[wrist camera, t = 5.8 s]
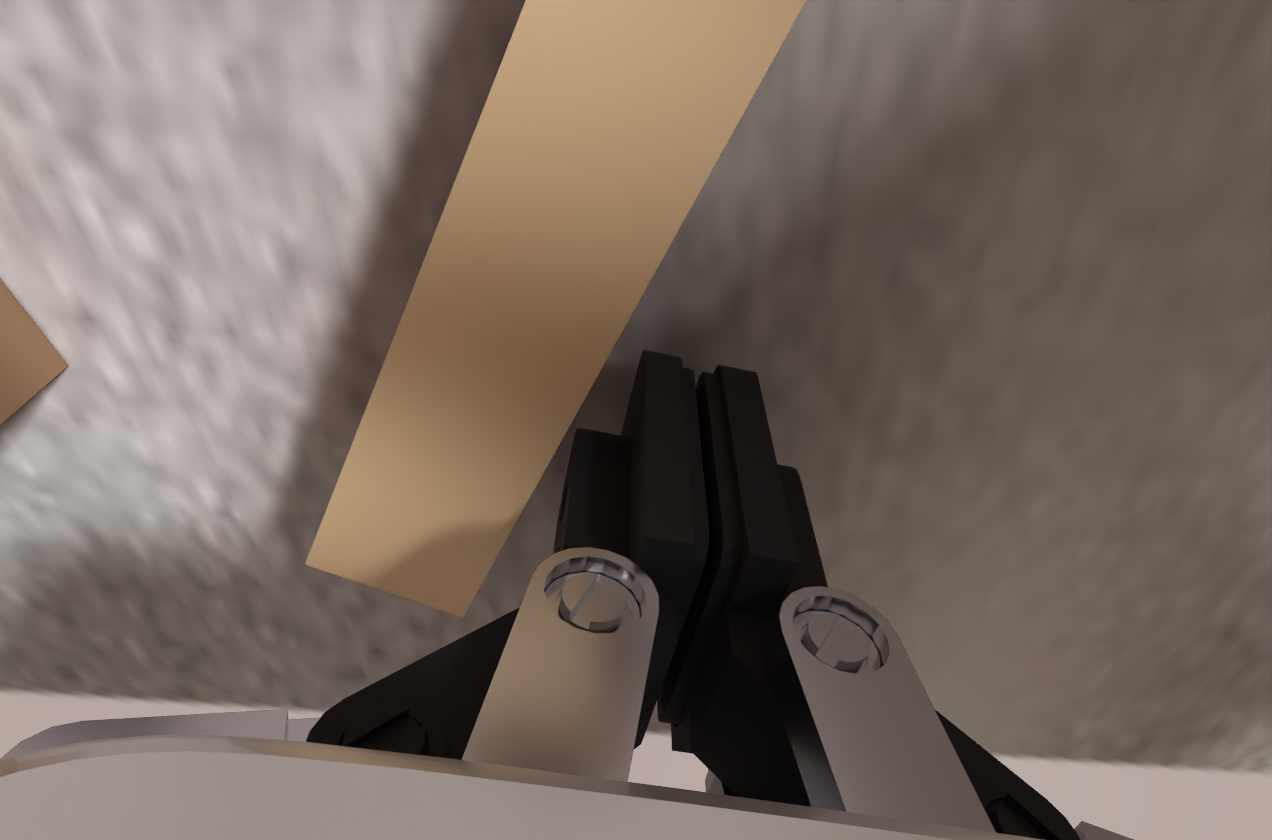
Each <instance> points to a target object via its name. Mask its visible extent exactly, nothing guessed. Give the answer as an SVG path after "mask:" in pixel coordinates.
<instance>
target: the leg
mask: <svg viewBox="0 0 1272 840" xmlns="http://www.w3.org/2000/svg"><path fill="white" fill-rule="evenodd" d="M805 2H806V0H526V1H525V3H524V6H523V8H522V11H521V14H520V16H519V19H518V21H517V24H516V26H515V29H514V31H513V34H512V37H511V39H510V42H509V44H508V47H507V49H506V52H505V54H504V57H503V60H502V62H501V65H500V67H499V70H498V72H497V75H496V77H495V80H494V83H493V85H492V88H491V90H490V93H489V95H488V98H487V100H486V103H485V105H484V108H483V111H482V113H481V116H480V118H479V121H478V123H477V126H476V128H475V131H474V134H473V136H472V139H471V141H470V144H469V146H468V149H467V151H466V154H465V157H464V159H463V162H462V164H461V167H460V169H459V172H458V174H457V177H456V180H455V182H454V185H453V187H452V190H451V192H450V195H449V197H448V200H447V203H446V205H445V208H444V210H443V213H442V215H441V218H440V220H439V223H438V226H437V228H436V231H435V233H434V236H433V238H432V241H431V243H430V246H429V248H428V251H427V254H426V256H425V259H424V261H423V264H422V266H421V269H420V271H419V274H418V277H417V279H416V282H415V284H414V287H413V289H412V292H411V294H410V297H409V300H408V302H407V305H406V307H405V310H404V312H403V315H402V317H401V320H400V323H399V325H398V328H397V330H396V333H395V335H394V338H393V340H392V343H391V346H390V348H389V351H388V353H387V356H386V358H385V361H384V363H383V366H382V368H381V371H380V374H379V376H378V379H377V381H376V384H375V386H374V389H373V391H372V394H371V397H370V399H369V402H368V404H367V407H366V409H365V412H364V414H363V417H362V420H361V422H360V425H359V427H358V430H357V432H356V435H355V437H354V440H353V443H352V445H351V448H350V450H349V453H348V455H347V458H346V460H345V463H344V466H343V468H342V471H341V473H340V476H339V478H338V481H337V483H336V486H335V488H334V491H333V494H332V496H331V499H330V501H329V504H328V506H327V509H326V511H325V514H324V517H323V519H322V522H321V524H320V527H319V529H318V532H317V534H316V537H315V540H314V542H313V545H312V547H311V550H310V552H309V555H308V557H307V560H306V563H305V565H308V566H311V567H314V568H317V569H320V570H323V571H325V572H328V573H331V574H334V575H337V576H340V577H343V578H346V579H349V580H352V581H355V582H358V583H361V584H364V585H367V586H370V587H373V588H376V589H379V590H382V591H385V592H388V593H391V594H394V595H397V596H400V597H403V598H406V599H409V600H412V601H414V602H417V603H420V604H423V605H426V606H429V607H432V608H435V609H438V610H441V611H444V612H447V613H450V614H453V615H456V616H459V617H462V618H463V617H464V615H465V614H466V612H467V610H468V608H469V606H470V605H471V603H472V601H473V599H474V597H475V596H476V594H477V592H478V590H479V588H480V587H481V585H482V583H483V581H484V579H485V578H486V576H487V574H488V572H489V570H490V569H491V567H492V565H493V563H494V561H495V560H496V558H497V556H498V554H499V552H500V551H501V549H502V547H503V545H504V543H505V542H506V540H507V538H508V536H509V534H510V533H511V531H512V529H513V527H514V525H515V524H516V522H517V520H518V518H519V516H520V515H521V513H522V511H523V509H524V507H525V506H526V504H527V502H528V500H529V498H530V497H531V495H532V493H533V491H534V489H535V488H536V486H537V484H538V482H539V480H540V479H541V477H542V475H543V473H544V471H545V470H546V468H547V466H548V464H549V462H550V461H551V459H552V457H553V455H554V453H555V452H556V450H557V448H558V446H559V444H560V443H561V441H562V439H563V437H564V435H565V434H566V432H567V430H568V428H569V426H570V425H571V423H572V421H573V419H574V417H575V416H576V414H577V412H578V410H579V408H580V407H581V405H582V403H583V401H584V399H585V398H586V396H587V394H588V392H589V390H590V389H591V387H592V385H593V383H594V381H595V380H596V378H597V376H598V374H599V373H600V371H601V369H602V367H603V365H604V364H605V362H606V360H607V358H608V356H609V355H610V353H611V351H612V349H613V347H614V346H615V344H616V342H617V340H618V338H619V337H620V335H621V333H622V331H623V329H624V328H625V326H626V324H627V322H628V320H629V319H630V317H631V315H632V313H633V311H634V310H635V308H636V306H637V304H638V302H639V301H640V299H641V297H642V295H643V293H644V292H645V290H646V288H647V286H648V284H649V283H650V281H651V279H652V277H653V275H654V274H655V272H656V270H657V268H658V266H659V265H660V263H661V261H662V259H663V257H664V256H665V254H666V252H667V250H668V248H669V247H670V245H671V243H672V241H673V239H674V238H675V236H676V234H677V232H678V230H679V229H680V227H681V225H682V223H683V221H684V220H685V218H686V216H687V214H688V212H689V211H690V209H691V207H692V205H693V203H694V202H695V200H696V198H697V196H698V194H699V193H700V191H701V189H702V187H703V185H704V184H705V182H706V180H707V178H708V176H709V175H710V173H711V171H712V169H713V167H714V166H715V164H716V162H717V160H718V158H719V157H720V155H721V153H722V151H723V149H724V148H725V146H726V144H727V142H728V140H729V139H730V137H731V135H732V133H733V131H734V130H735V128H736V126H737V124H738V122H739V121H740V119H741V117H742V115H743V113H744V112H745V110H746V108H747V106H748V104H749V103H750V101H751V99H752V97H753V95H754V94H755V92H756V90H757V88H758V86H759V85H760V83H761V81H762V79H763V77H764V76H765V74H766V72H767V70H768V68H769V67H770V65H771V63H772V61H773V59H774V58H775V56H776V54H777V52H778V50H779V49H780V47H781V45H782V43H783V41H784V40H785V38H786V36H787V34H788V32H789V31H790V29H791V27H792V25H793V23H794V22H795V20H796V18H797V16H798V14H799V13H800V11H801V9H802V7H803V5H804V4H805Z"/></svg>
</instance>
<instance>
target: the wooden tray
mask: <svg viewBox="0 0 1272 840" xmlns="http://www.w3.org/2000/svg"><path fill="white" fill-rule="evenodd" d="M68 366H69V365H68V364H67V363H66V362H65V360H64V359H63V358H62V357H61V355H60V354H59V353H58V351H57V350H56V349H55V348H54V346H53V345H52V344H51V343H50V341H49V340H48V339H47V337H46V336H45V335H44V334H43V332H42V331H41V330H40V329H39V327H38V326H37V325H36V323H35V322H34V321H33V320H32V318H31V317H30V316H29V314H28V313H27V312H26V311H25V309H24V308H23V307H22V306H21V304H20V303H19V302H18V300H17V299H16V298H15V297H14V295H13V294H12V293H11V292H10V290H9V289H8V288H7V286H6V285H5V284H4V283H3V281H2V280H1V279H0V424H2V423H3V422H4V421H5V420H6V419H7V418H9V417H10V416H11V415H12V414H13V413H14V412H15V411H17V410H18V409H19V408H20V407H21V406H22V405H24V404H25V403H26V402H27V401H28V400H29V399H31V398H32V397H33V396H34V395H35V394H36V393H37V392H39V391H40V390H41V389H42V388H43V387H44V386H46V385H47V384H48V383H49V382H50V381H51V380H53V379H54V378H55V377H56V376H57V375H58V374H59V373H61V372H62V371H63V370H64V369H65V368H66V367H68Z"/></svg>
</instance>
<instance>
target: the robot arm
mask: <svg viewBox="0 0 1272 840" xmlns="http://www.w3.org/2000/svg"><path fill="white" fill-rule="evenodd" d="M656 701H657V710H658V719H659V721H660V722H664V723H671V733H672V750H673V751H680V752H687V753H693V754H694V755H695V756H696V757H697V758H699V760H700V761H701V762H703V764H705V766H706V767H707V768H708V769H709V770H708V773H707V777H706V780H705V783H706V792H699V791H691V790H684V789H676V788H669V787H662V786H654V785H647V784H639V783H631V782H627V781H628V776H629V770H630V765H631V760H632V754H633V750H634V749H635V748H636V747H638V746H639V745H640V744H641V743H642V740H643V737H644V735H645V732H646V729H647V726H648V724H649V721H650V718H651V715H652V712H653V710H654V707H655V704H656ZM0 840H1133V839H1131V838H1128V837H1125V836H1122V835H1119V834H1117V833H1114V832H1111V831H1108V830H1105V829H1103V828H1100V827H1097V826H1094V825H1091V824H1089V823H1086V822H1083V821H1082V822H1080V823H1079V825H1078V826H1077V827H1076V828H1075V829H1073V828H1072V826H1071V825H1070V823H1069V822H1068V820H1067V819H1066V818H1065V817H1064V816H1063V815H1062V814H1061V813H1060V812H1059V811H1058V810H1057V809H1056V808H1055V807H1054V806H1053V805H1052V804H1051V803H1050V802H1049V801H1048V800H1047V799H1046V798H1044V797H1043V796H1042V795H1040V794H1039V793H1038V792H1037V791H1036V790H1034V789H1033V788H1032V787H1031V786H1029V785H1028V784H1027V783H1026V782H1024V781H1023V780H1022V779H1021V778H1019V777H1018V776H1017V775H1016V774H1014V773H1013V772H1012V771H1010V770H1009V769H1008V768H1007V767H1006V766H1005V765H1003V764H1002V763H1001V762H1000V761H998V760H997V759H996V758H995V757H993V756H992V755H991V754H990V753H988V752H987V751H986V750H985V749H983V748H982V747H981V746H980V745H978V744H977V743H976V742H975V741H973V740H972V739H971V738H970V737H968V736H967V735H966V734H965V733H964V732H962V731H961V730H960V729H959V728H957V727H956V726H955V725H954V724H952V723H951V722H950V721H949V720H947V719H946V718H945V717H944V716H942V715H941V714H940V713H939V712H937V711H936V710H935V709H934V707H933V705H932V703H931V701H930V699H929V697H928V695H927V693H926V691H925V689H924V687H923V685H922V683H921V681H920V679H919V677H918V675H917V673H916V671H915V669H914V667H913V665H912V663H911V661H910V659H909V657H908V655H907V653H906V651H905V649H904V647H903V645H902V643H901V641H900V639H899V637H898V635H897V634H896V632H895V631H894V629H893V628H892V626H891V625H890V623H889V622H888V620H887V619H885V618H884V617H883V616H882V615H881V614H880V613H879V612H878V611H877V610H876V609H875V608H874V607H872V606H871V605H869V604H868V603H866V602H865V601H863V600H861V599H860V598H858V597H857V596H854V595H852V594H849V593H846V592H844V591H841V590H839V589H834V588H828V586H827V582H826V578H825V574H824V570H823V566H822V562H821V558H820V554H819V550H818V546H817V543H816V539H815V535H814V531H813V527H812V523H811V519H810V515H809V511H808V507H807V503H806V499H805V495H804V491H803V487H802V483H801V480H800V476H799V474H798V471H797V470H796V469H795V468H793V467H788V466H783V465H777V462H776V457H775V453H774V448H773V444H772V439H771V435H770V430H769V425H768V421H767V416H766V412H765V407H764V403H763V398H762V394H761V389H760V385H759V380H758V376H757V373H756V372H752V371H747V370H742V369H737V368H732V367H727V366H722V365H718V366H717V367H716V369H715V371H714V374H712V373H706V372H702V373H701V375H700V377H699V380H698V383H697V387H696V388H695V377H694V370H691V369H686V368H682V360H681V358H680V357H676V356H671V355H666V354H660V353H655V352H650V351H645V350H644V351H643V352H642V355H641V358H640V362H639V365H638V369H637V373H636V377H635V381H634V385H633V389H632V393H631V397H630V401H629V405H628V408H627V412H626V416H625V420H624V424H623V428H622V432H621V436H620V435H615V434H609V433H604V432H598V431H593V430H588V429H582V428H577V429H576V433H575V437H574V441H573V445H572V450H571V454H570V459H569V464H568V468H567V473H566V478H565V483H564V488H563V493H562V499H561V504H560V510H559V516H558V523H557V530H556V537H555V544H554V552H553V554H552V555H551V556H550V557H548V558H547V559H545V560H544V561H543V562H541V563H540V564H539V566H538V567H537V569H536V571H535V572H534V574H533V575H532V577H531V580H530V583H529V585H528V588H527V590H526V593H525V596H524V598H523V601H522V604H521V606H520V608H518V609H516V610H514V611H512V612H510V613H508V614H506V615H504V616H502V617H500V618H499V619H497V620H495V621H493V622H491V623H489V624H487V625H485V626H483V627H481V628H479V629H477V630H475V631H474V632H472V633H470V634H468V635H466V636H464V637H462V638H460V639H458V640H456V641H454V642H452V643H451V644H449V645H447V646H445V647H443V648H441V649H439V650H437V651H435V652H433V653H431V654H429V655H427V656H426V657H424V658H422V659H420V660H418V661H416V662H414V663H412V664H410V665H408V666H406V667H404V668H403V669H401V670H399V671H397V672H395V673H393V674H391V675H389V676H387V677H385V678H383V679H381V680H379V681H378V682H376V683H374V684H372V685H370V686H368V687H366V688H364V689H362V690H360V691H358V692H356V693H355V694H353V695H351V696H349V697H347V698H345V699H343V700H342V701H341V702H339V703H338V704H336V705H335V706H333V707H332V708H331V709H329V710H328V711H326V712H325V713H324V714H323V715H322V717H321V718H307V719H292V720H288V709H281V710H264V711H246V712H230V713H212V714H195V715H179V716H161V717H142V718H125V719H107V720H91V721H80V722H75V723H70V724H65V725H60V726H54V727H51V728H49V729H47V730H44V731H42V732H40V733H38V734H36V735H34V736H32V737H30V738H27V739H25V740H23V741H21V742H20V743H19V744H18V745H17V746H15V747H14V748H13V749H12V750H10V751H9V752H8V753H7V754H5V755H4V756H3V757H2V758H0Z"/></svg>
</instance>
